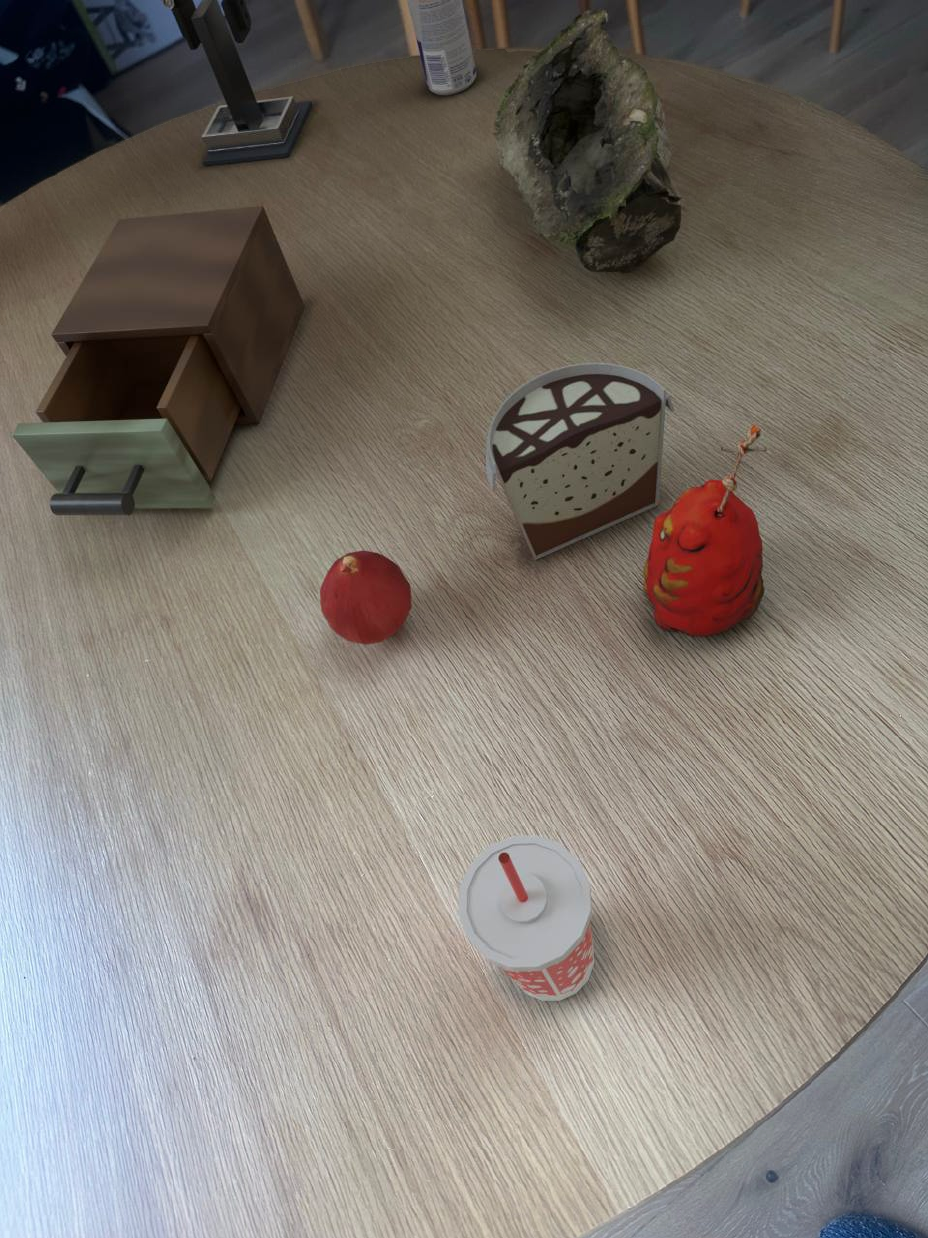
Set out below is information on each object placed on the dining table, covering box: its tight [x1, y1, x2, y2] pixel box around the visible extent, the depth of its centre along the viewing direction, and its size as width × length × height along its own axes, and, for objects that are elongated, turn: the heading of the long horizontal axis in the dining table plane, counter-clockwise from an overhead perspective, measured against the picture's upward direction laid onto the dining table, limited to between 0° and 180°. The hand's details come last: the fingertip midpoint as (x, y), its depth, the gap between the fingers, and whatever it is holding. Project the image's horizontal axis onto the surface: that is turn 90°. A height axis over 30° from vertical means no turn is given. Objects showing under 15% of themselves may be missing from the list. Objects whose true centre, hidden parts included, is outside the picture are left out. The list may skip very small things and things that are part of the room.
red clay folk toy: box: [642, 424, 768, 638], centre depth 56 cm, size 8×7×15 cm
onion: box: [319, 550, 412, 645], centre depth 63 cm, size 6×6×8 cm
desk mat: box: [202, 100, 313, 167], centre depth 108 cm, size 10×10×1 cm
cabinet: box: [50, 205, 305, 425], centre depth 82 cm, size 15×14×10 cm
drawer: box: [11, 334, 241, 516], centre depth 76 cm, size 18×12×8 cm
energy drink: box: [406, 0, 477, 96], centre depth 101 cm, size 5×5×12 cm
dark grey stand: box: [191, 0, 299, 154], centre depth 102 cm, size 9×6×13 cm, turn 80°
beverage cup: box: [457, 834, 595, 1002], centre depth 46 cm, size 6×6×14 cm
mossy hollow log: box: [492, 8, 683, 275], centre depth 82 cm, size 28×13×15 cm
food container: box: [485, 362, 675, 561], centre depth 65 cm, size 12×6×10 cm, turn 111°
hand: (220, 37), depth 100 cm, fingers open, 4 cm apart
